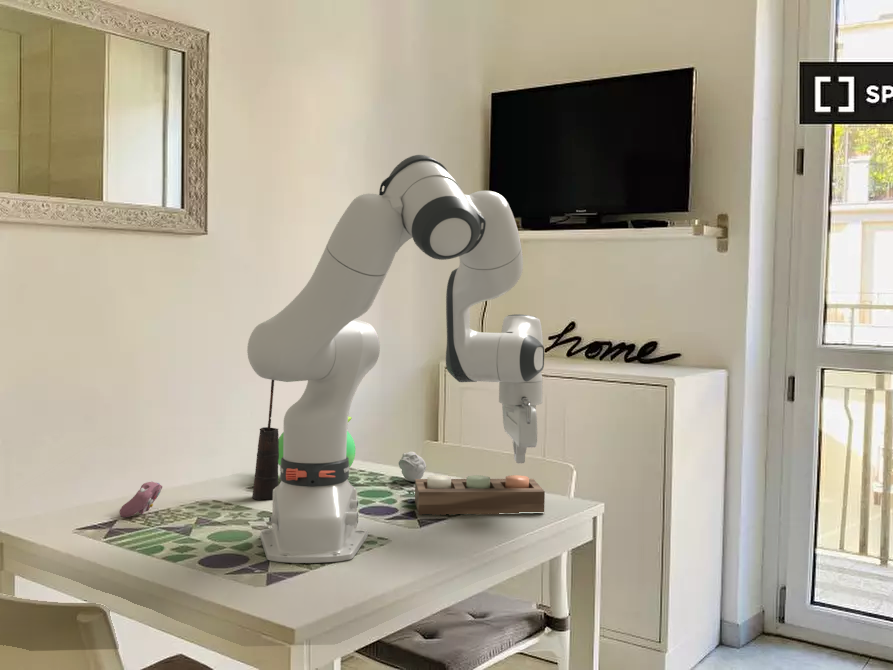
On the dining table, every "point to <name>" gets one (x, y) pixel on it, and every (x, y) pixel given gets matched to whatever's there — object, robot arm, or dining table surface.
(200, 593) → the dining table surface
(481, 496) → the button panel
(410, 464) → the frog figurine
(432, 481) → the cream button
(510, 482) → the terracotta button
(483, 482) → the sage button
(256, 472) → the butter churn
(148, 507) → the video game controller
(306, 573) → the dining table surface
